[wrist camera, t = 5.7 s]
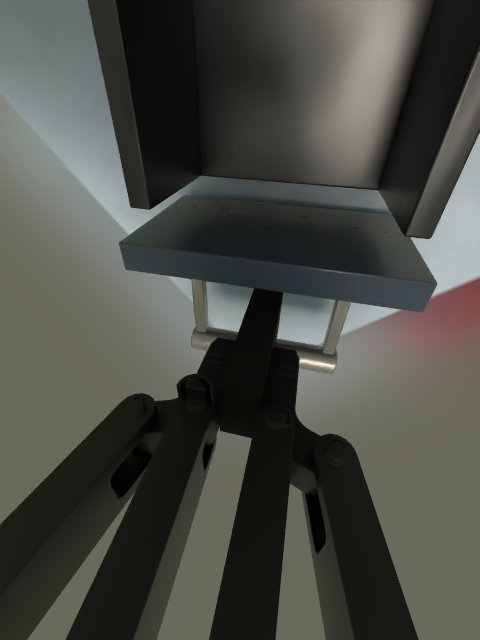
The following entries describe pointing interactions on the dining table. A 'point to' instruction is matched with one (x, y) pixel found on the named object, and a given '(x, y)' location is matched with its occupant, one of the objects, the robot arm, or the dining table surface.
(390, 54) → the pull-out drawer box
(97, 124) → the dining table surface
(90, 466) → the robot arm
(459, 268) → the dining table surface
